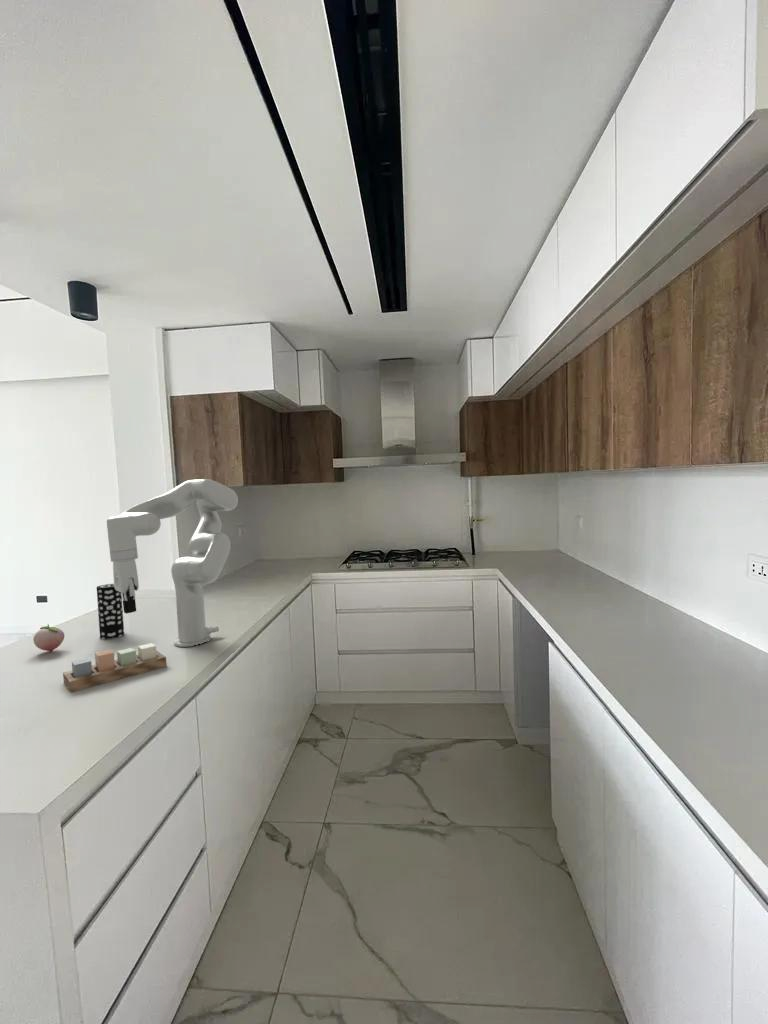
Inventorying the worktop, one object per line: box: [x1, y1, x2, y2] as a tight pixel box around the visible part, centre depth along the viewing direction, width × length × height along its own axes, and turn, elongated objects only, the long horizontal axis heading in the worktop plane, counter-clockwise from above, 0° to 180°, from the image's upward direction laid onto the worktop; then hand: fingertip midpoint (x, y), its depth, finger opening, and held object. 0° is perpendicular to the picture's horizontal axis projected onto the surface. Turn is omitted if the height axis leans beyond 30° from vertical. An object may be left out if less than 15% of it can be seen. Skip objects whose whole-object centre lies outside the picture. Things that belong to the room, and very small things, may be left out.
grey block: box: [71, 657, 92, 678], centre depth 140 cm, size 4×4×5 cm
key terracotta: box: [94, 649, 115, 672], centre depth 144 cm, size 4×4×5 cm
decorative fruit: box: [32, 623, 65, 652], centre depth 169 cm, size 9×8×10 cm
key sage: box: [116, 647, 137, 666], centre depth 148 cm, size 4×4×5 cm
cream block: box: [137, 642, 157, 661], centre depth 152 cm, size 4×4×5 cm
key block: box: [62, 649, 168, 693], centre depth 146 cm, size 26×10×3 cm, turn 133°
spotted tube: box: [96, 583, 125, 640], centre depth 186 cm, size 8×8×20 cm
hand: (130, 611), depth 150 cm, fingers closed
